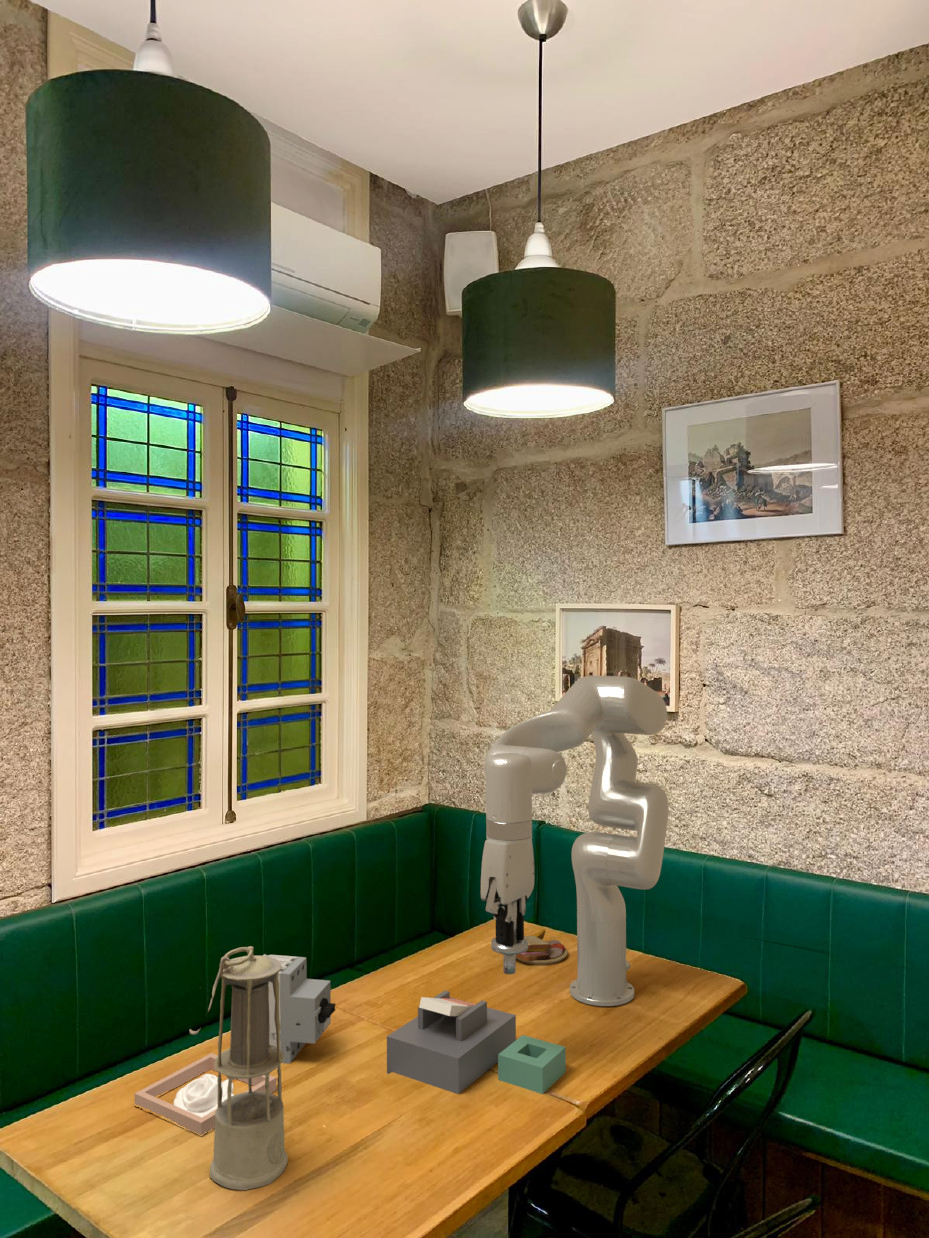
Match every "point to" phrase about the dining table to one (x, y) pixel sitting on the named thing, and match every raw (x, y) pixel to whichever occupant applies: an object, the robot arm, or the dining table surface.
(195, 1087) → the rose
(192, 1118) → the pink square frame
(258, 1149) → the lamp
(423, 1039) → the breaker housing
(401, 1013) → the dining table surface
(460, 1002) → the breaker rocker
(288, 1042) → the circuit breaker
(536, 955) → the toy sandwich meal
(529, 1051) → the stylus holder
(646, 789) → the robot arm
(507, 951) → the metal knob
